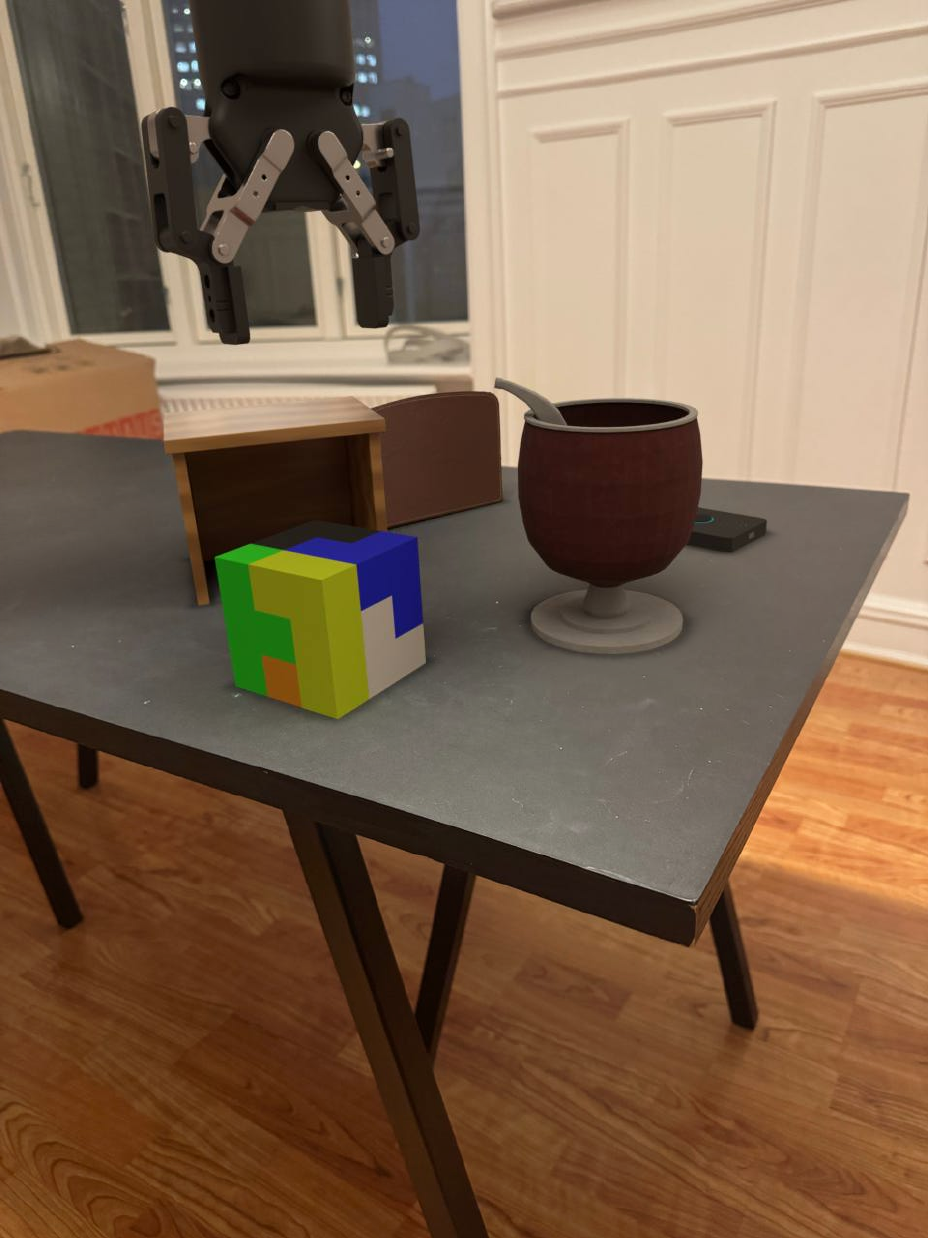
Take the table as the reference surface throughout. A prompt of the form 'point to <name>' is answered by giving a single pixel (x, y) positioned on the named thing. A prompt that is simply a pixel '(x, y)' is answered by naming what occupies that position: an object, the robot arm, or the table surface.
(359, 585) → the puzzle toy
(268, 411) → the shelf
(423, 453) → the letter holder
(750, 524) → the smart home device
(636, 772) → the table surface
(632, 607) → the mate gourd
